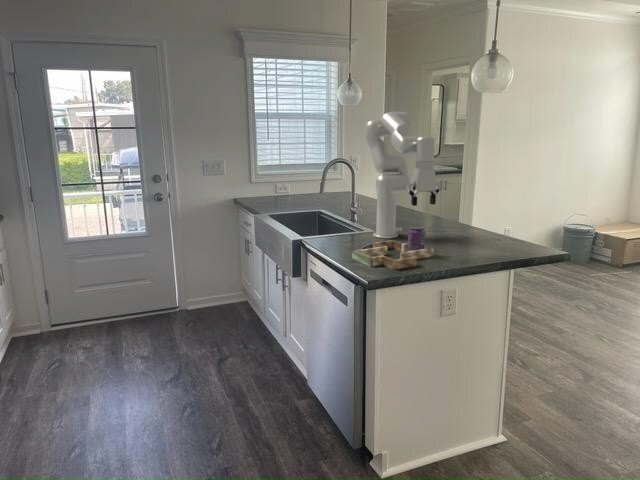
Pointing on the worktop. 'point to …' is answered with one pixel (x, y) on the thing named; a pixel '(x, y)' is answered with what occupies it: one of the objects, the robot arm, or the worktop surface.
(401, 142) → the robot arm
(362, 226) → the worktop surface
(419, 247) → the beverage can
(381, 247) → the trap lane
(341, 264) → the worktop surface
